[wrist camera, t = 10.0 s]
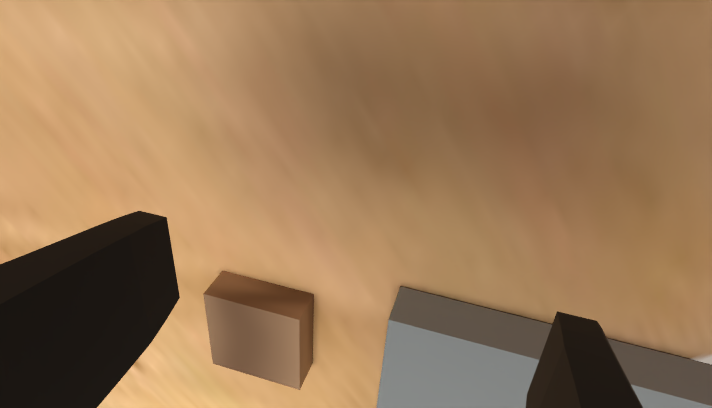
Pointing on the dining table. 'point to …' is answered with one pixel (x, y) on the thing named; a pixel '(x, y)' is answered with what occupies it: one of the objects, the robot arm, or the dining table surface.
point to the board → (504, 360)
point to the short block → (260, 328)
